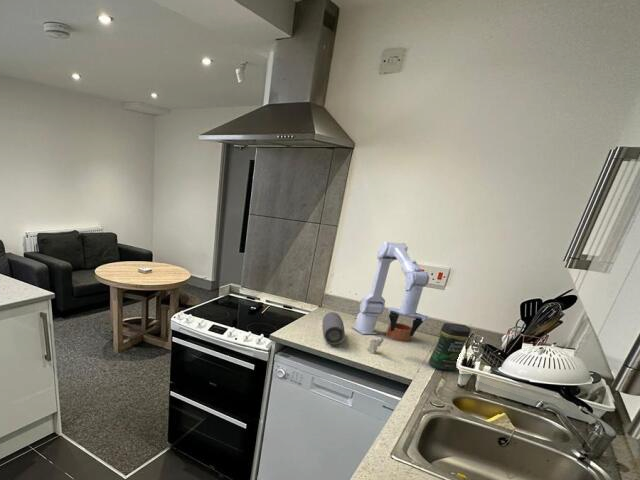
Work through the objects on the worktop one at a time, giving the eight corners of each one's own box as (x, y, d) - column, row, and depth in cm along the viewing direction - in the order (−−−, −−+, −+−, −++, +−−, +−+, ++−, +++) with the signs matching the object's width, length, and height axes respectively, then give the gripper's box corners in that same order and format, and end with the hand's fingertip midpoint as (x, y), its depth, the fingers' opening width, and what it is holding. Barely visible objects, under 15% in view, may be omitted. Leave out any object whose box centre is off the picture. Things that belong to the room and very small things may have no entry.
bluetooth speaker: (319, 329, 192) (323, 309, 188) (339, 332, 190) (344, 312, 186) (320, 345, 172) (325, 323, 168) (342, 348, 170) (348, 327, 166)
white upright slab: (368, 349, 172) (373, 332, 168) (372, 349, 172) (376, 332, 169) (375, 355, 165) (380, 338, 162) (379, 356, 165) (384, 338, 162)
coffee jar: (434, 370, 156) (450, 326, 149) (425, 361, 163) (440, 319, 156) (459, 372, 156) (476, 329, 148) (448, 364, 163) (464, 322, 156)
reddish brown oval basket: (407, 343, 183) (411, 332, 181) (383, 336, 189) (386, 326, 186) (412, 335, 194) (416, 325, 191) (389, 330, 199) (392, 319, 197)
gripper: (388, 298, 160) (380, 329, 165) (426, 306, 151) (416, 340, 155) (395, 296, 165) (387, 327, 170) (432, 304, 155) (422, 337, 160)
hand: (401, 333), depth 163 cm, fingers open, 7 cm apart
